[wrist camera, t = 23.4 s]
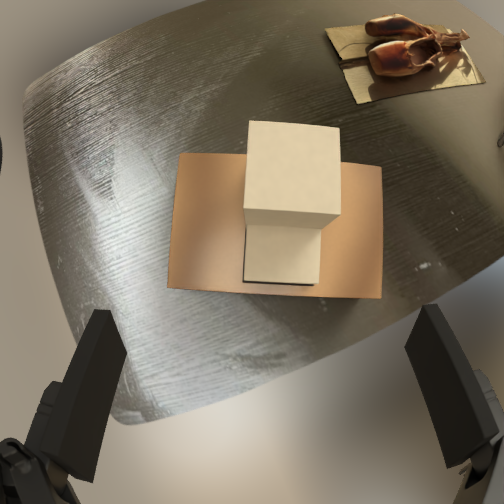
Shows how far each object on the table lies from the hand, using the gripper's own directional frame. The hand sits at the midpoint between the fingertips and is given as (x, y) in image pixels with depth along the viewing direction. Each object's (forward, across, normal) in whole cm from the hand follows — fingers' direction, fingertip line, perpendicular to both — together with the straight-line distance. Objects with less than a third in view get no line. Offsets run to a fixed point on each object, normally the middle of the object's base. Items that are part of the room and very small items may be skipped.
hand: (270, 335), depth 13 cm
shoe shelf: (+22, +2, -8) cm, 23 cm away
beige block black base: (+17, +2, -4) cm, 18 cm away
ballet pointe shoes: (+39, +24, +14) cm, 48 cm away
